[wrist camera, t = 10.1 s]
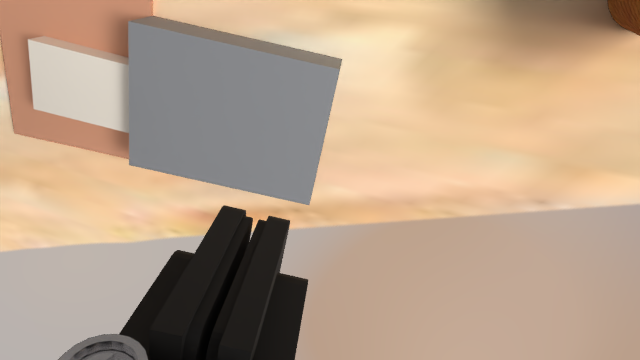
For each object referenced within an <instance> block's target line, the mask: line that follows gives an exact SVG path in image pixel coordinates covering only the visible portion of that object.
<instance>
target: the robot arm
mask: <svg viewBox="0 0 640 360" xmlns="http://www.w3.org/2000/svg"><path fill="white" fill-rule="evenodd" d="M252 222H253V218H251V217H246V210H242V209H237V208H233V207H229V206H223V207H222V208H221V210H220V212H219V213H218V215H217V217H216V218H215V220H214V222H213V223H212V225H211V227H210V228H209V230H208V232H207V234H206V235H205V237H204V239H203V240H202V242H201V244H200V246H199V247H198V249H197V250H196V252H195V254H194V253H189V252H185V251H180V250H177V251H175V252H174V254H173V255H172V256H171V258H170V259H169V261H168V262H167V264H166V265H165V266H164V268H163V269H162V271H161V272H160V274H159V276H158V277H157V279H156V280H155V282H154V283H153V284H152V286H151V288H150V289H149V291H148V292H147V293H146V295H145V297H144V298H143V299H142V301H141V302H140V304H139V305H138V307H137V308H136V310H135V311H134V313H133V314H132V316H131V317H130V319H129V320H128V322H127V323H126V325H125V326H124V328H123V329H122V331H121V332H120V334H104V335H99V336H95V337H91V338H88V339H86V340H84V341H82V342H80V343H78V344H76V345H74V346H73V347H72V348H71V349H69V350H68V351H67V352H65V353H64V354H63V355H62V356H61V357H60V358H59V359H58V360H295V353H296V348H297V342H298V336H299V331H300V325H301V320H302V314H303V308H304V302H305V296H306V291H307V285H308V280H307V279H303V278H299V277H295V276H290V275H286V274H281V273H279V272H280V268H281V263H282V258H283V253H284V249H285V244H286V239H287V235H288V230H289V225H290V220H285V219H281V218H277V217H272V216H269V217H268V219H267V221H264V220H259V221H258V223H257V225H256V228H255V230H254V232H253V235H252V237H251V240H250V235H251V229H252ZM249 241H250V242H249Z"/></svg>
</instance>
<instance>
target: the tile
mask: <svg viewBox="0 0 640 360" xmlns="http://www.w3.org/2000/svg"><path fill="white" fill-rule="evenodd" d="M28 48H29V60H30V72H31V84H32V95H33V107H34V109H36V110H40V111H43V112H47V113H51V114H55V115H59V116H63V117H67V118H71V119H75V120H79V121H83V122H87V123H91V124H95V125H99V126H103V127H107V128H111V129H115V130H119V131H122V132H126V133H129V58H128V57H124V56H120V55H117V54H113V53H109V52H105V51H101V50H97V49H93V48H90V47H86V46H82V45H78V44H74V43H70V42H66V41H62V40H59V39H55V38H51V37H47V36H41V37H37V38H32V39H28Z"/></svg>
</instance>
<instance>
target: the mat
mask: <svg viewBox="0 0 640 360" xmlns="http://www.w3.org/2000/svg"><path fill="white" fill-rule="evenodd" d="M152 11H153V0H0V35H1V42H2V49H3V56H4V63H5V70H6V77H7V84H8V91H9V98H10V105H11V112H12V119H13V126H14V133H15V134H19V135H24V136H28V137H33V138H37V139H42V140H46V141H51V142H55V143H60V144H64V145H69V146H73V147H78V148H82V149H86V150H91V151H95V152H100V153H104V154H109V155H113V156H118V157H122V158H127V159H129V133H126V132H122V131H119V130H115V129H111V128H107V127H103V126H99V125H95V124H91V123H87V122H83V121H79V120H75V119H71V118H67V117H63V116H59V115H55V114H51V113H47V112H43V111H40V110H36V109H34V107H33V95H32V84H31V72H30V60H29V48H28V39H32V38H37V37H41V36H47V37H51V38H55V39H59V40H62V41H66V42H70V43H74V44H78V45H82V46H86V47H90V48H93V49H97V50H101V51H105V52H109V53H113V54H117V55H120V56H124V57H128V58H129V45H128V21H131V20H136V19H141V18H145V17H150V16H152Z"/></svg>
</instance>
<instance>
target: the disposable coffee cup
mask: <svg viewBox="0 0 640 360" xmlns="http://www.w3.org/2000/svg"><path fill="white" fill-rule="evenodd" d="M608 7H609V10H610V13H611V15H612V17H613V19H614V20H615V21H616V22H617V23H618V24H619V25H620V26H622V27H623V28H625V29H628V30H630V31H632V32H634V33H636V34H637V35H639V36H640V0H608Z"/></svg>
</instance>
